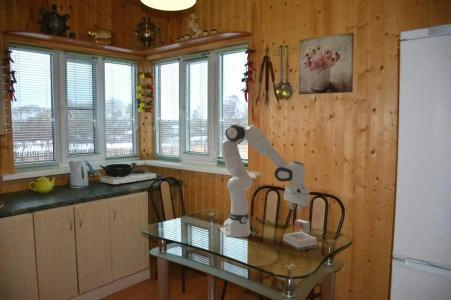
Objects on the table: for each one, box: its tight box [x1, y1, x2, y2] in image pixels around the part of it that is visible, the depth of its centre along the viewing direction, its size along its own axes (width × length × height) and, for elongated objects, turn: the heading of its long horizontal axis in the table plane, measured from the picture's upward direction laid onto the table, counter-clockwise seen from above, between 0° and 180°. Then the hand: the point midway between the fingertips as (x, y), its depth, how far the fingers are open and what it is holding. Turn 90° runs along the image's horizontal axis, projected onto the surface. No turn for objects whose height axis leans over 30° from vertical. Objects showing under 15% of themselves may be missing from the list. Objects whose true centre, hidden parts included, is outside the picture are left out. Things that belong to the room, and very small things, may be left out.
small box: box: [293, 218, 311, 235], centre depth 223 cm, size 8×6×10 cm
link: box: [282, 232, 318, 248], centre depth 207 cm, size 14×14×4 cm
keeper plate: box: [283, 232, 319, 251], centre depth 206 cm, size 14×14×8 cm
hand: (295, 210), depth 210 cm, fingers open, 5 cm apart
